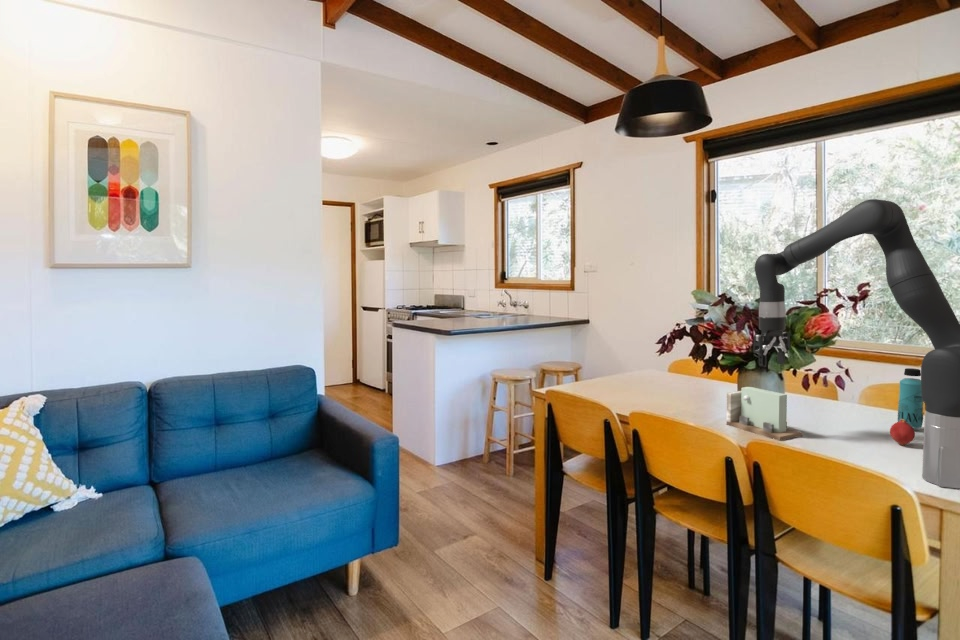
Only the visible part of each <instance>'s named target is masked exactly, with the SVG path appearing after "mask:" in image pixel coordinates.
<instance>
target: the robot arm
mask: <svg viewBox="0 0 960 640" xmlns="http://www.w3.org/2000/svg"><path fill="white" fill-rule="evenodd" d="M861 235H872V236H873V237H874V238H875V240H876V241H877V243H878V244H879V246H880V249H881V250H882V252H883V255H884V259H885V276H886V282H887V284H888V288H889V290H890V291H891V293H892V296H893V297H894V300H895V302H896V303H897V304H898V307H899V308H900V309H901V310H902V311H903V312H904V313H905V314H906V315H907V316H908V317H909V318H910V319H911V320H912V321H913V322H915V324H917V326H919V327H920V329H922V330H923V332H925V334H926V335H927V337H928V338H929V340H930V342H931V344H932V346H933V348H934V349H932V350H930V351H928V352H927V353H926V354H925V356H924V357H923V359H922V362H921V367H920V368H921V369H920V372H921V376H920V380H921V395H922V399H923V401H924V402H923V404H924V420H923V425H924V426H923V445H922V446H923V447H922V472H921V473H922V474H921V477H922V479H923V480H925V481H926V482H929V483H932V484H934V485H937V486H938V487H941V488H942V487H943V488H951V489H959V490H960V322H959V319H958V318H957V316H956V314H955V312H954V310H953V308H952V306H951V305H950V303H949V301H948V299H947V298H946V296H945V294H944V292H943V290H942V287H941V285H940V283H939V281H938V280H937V278H936V276H935V274H934V272H933V270H932V269H931V268H930V265H929V264H928V262H927V260H926V259H925V257H924V255H923V254H922V252H921V249H920V248H919V247H918V245H917V243H916V241H915V239H914V237H913V234H912V232H911V229H910V226H909V224H908V221H907V219H906V216H905V213H904V211H903V209H902V207H901V206H900V205H898V204H897V203H896V202H894V201H891V200H887V199H878V198H877V199H875V198H874V199H872V198H871V199H867V200H864V201H861V202H859V203H858V204H855V206H854V207H853V208H852V207H851V209H849V210H847V211H846V212H844V214H842V215H841V216H839V217H837V218H836V219H835V220H833V221H831V222H830V223H827V224H826V225H825V226H823V227H822V228H819V229H817V230H816V231H813V232H812V233H810V234H807V235H805V236H804V237H801V238H799V239H797V240H795V241H793V242H791V243H789V244H787V246H785V247H784V250H783V251H780V252H778V253H764V254H761V255H760V256H759V257H757V259H756V260H755V262H754V263H755V264H754V274H755V276H756V282H757V285H758V287H759V305H758V306H759V307H758V329H759V330H760V331H761V334H754V335H753V345H752V346H753V349H752V351H753V353H754V354H757V355H758V366H759V367H761V368H762V367H763V368H766V367H767V362H768V359H767V358H768V355H767V354H768V351H769V350H771V349H772V348H775V350H776V363H777V365H784V364H785V363H786V353H787V351H790V350H791V336H790V335H791V334H790V332H788V331H785V330H786V303H785V301H786V300H785V297H786V296H785V295H786V293H785V291H786V290H785V286H784V285H783V284H782V283H780V282H779V281H778V278H777V276H782V275H784V274H787V273H790V272H791V271H793V270H794V269H796V268H797V267H798V266H800V265H802V264H804V263H808V262H809V261H811V260H813V259H816V258H817V257H820V256H821V255H823V254H825V253H826V252H828V251H829V250H830V249H831V248H832V247H834V246H835V245H837V244H839V243H840V242H842V241H845V240H848V239H850V238H853V237H854V238H855V237H856V236H861Z"/></svg>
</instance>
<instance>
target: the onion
mask: <svg viewBox="0 0 960 640" xmlns="http://www.w3.org/2000/svg"><path fill="white" fill-rule="evenodd" d="M889 434H890V435H889V436H890V437H891V438H892V439H893V441H895V442H896V443H898V445H900V446H905V445H907V444H910V443H911V442H912V441H914V439H915V437H916V431H915V428H914V427H912V426H911V425H909V424H908V423H907V422H906V421H905V420H904V419H901V420H900V421H899V422H895V423H893V424H892V425H891V426H890V428H889Z"/></svg>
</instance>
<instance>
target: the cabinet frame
mask: <svg viewBox="0 0 960 640" xmlns="http://www.w3.org/2000/svg"><path fill="white" fill-rule="evenodd" d="M726 425H727V426H729V427H730V426H731V427H733V428H737V429H739V430H744V431H747V432H750V433H753V434H757V435H760V436H763V437H766V438H769V437H770V439H773V438H774V439H773V440H777V441H785V440H789V439H794V438H798V437H802V435H803V433H802V431H798V430H796V429H795V430H794V429H792V428H791V429H790V428H788V422H787V421H786V431H785V432H780V433H778V432H774V424H770V423H767V422H763V428H760V427H757V426H753V425H750V424H749V418H748V417H745V416H741V390H737V391H730V392H726Z"/></svg>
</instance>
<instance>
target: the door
mask: <svg viewBox="0 0 960 640" xmlns="http://www.w3.org/2000/svg"><path fill="white" fill-rule="evenodd" d="M740 391H741V416H745V417H748V418H749V424H750V425H753V426H757V427H760V428H763V422H767V423H770V424H774V432H778V433H780V432H785V431H786V422H787V410H788V409H787V406H788V394H787V393H781V392H776V391H772V390H767V389H763V388H757V387H752V386H744V387H741V390H740Z"/></svg>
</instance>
